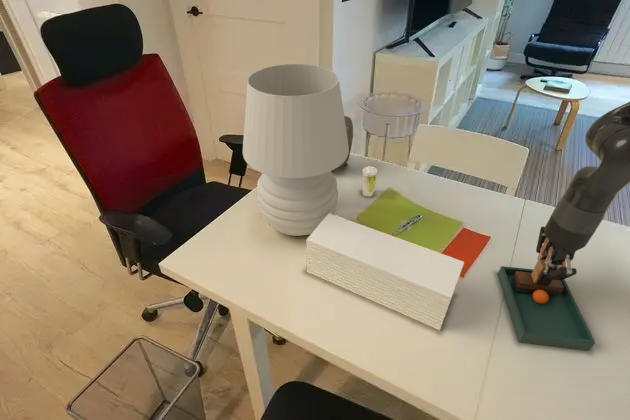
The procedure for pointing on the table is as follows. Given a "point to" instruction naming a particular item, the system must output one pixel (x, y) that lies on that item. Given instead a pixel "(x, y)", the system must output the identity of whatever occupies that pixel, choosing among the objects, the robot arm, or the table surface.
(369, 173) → the milkshake
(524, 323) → the tray
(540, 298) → the ball
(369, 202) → the table surface
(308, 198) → the table lamp
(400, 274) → the stack of papers
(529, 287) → the brush
